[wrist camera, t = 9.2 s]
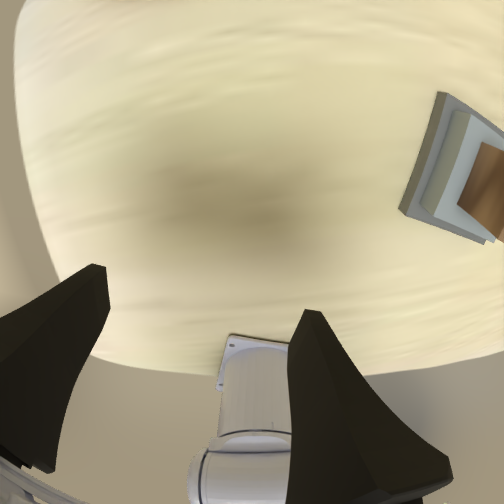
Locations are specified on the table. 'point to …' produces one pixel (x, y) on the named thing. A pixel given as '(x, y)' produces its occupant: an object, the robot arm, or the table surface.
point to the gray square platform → (428, 159)
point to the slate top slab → (458, 171)
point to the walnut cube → (486, 190)
